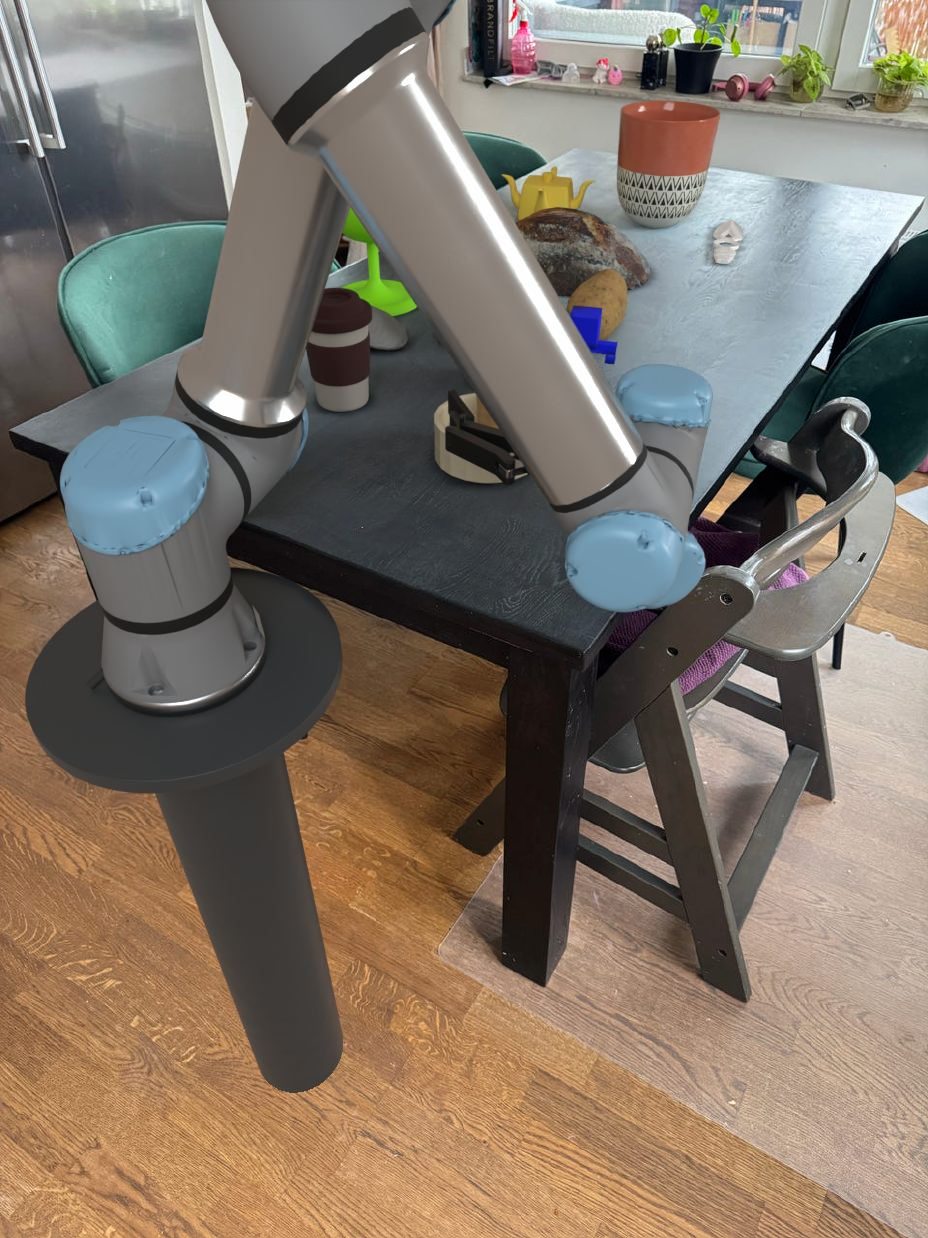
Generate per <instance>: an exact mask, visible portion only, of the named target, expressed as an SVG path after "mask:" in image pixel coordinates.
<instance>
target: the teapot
mask: <svg viewBox="0 0 928 1238" xmlns="http://www.w3.org/2000/svg"><path fill="white" fill-rule="evenodd" d="M541 174H542V175H541ZM541 174H530V175H528V176H527V177H526V178H525V180H524V182H523V183H522V187H521V192H519V190H518V188H517V183H516V180H515V179H514V177H513V176H512V175H509V174H504V173H503V174H501V176H502V177H503V178H504V179H505V180H506V181H507V183H508V185H509V191H510V197H511V201H512V203H513V205H514V207H515V208H517V209H518V213H517V218H518V220H517V221H519V220H522V219H524V218H525V217H528V216H530V215H531V214H533V213H535V212H538V211H540V210H542V209H548V208H554V207H564V208H572V209H579V210H580V207H581V206H582V204H583V201H584V198H585V195H586V191H587V189H588V187H589V186H590V185H592V184H594V183H595V182H596V180H594V179H592V180H591V179H590V180H585V181H583V182H582V183H581V185H580V187H579V189H578V193H577V194H576V196H575V197H574V183H573V178H572V177H568V176H560V175H559V176H558V167H557V166H552V167H551V170H550V171H543V172H542V173H541Z"/></svg>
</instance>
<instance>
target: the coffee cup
mask: <svg viewBox="0 0 928 1238" xmlns="http://www.w3.org/2000/svg"><path fill="white" fill-rule="evenodd" d="M371 321H372V307H371V305H370V303H369V302H367V301H366V300H364V299H361V298H360V297H359V295H358V293H356V292H355V291H353V290H350V289H346V288H341V287H325V290H324V293H323V296H322V299H321V302H320V305H319V309H318V312H317V315H316V318H315V321H314V324H313V328H312V331H311V334H310V337H309V340H308V344H307V347H306V350H305V353H306V357H307V361H308V367H309V372H310V376H311V379H312V380H313V384H314V389H315V395H316V400H317V403H318V405H319V406H320V407H321V408H322V409H324V410H327V411H330V412H334V413H335V412H336V413H347V412H352V411H356V410H358V409H360V408H362V407H364V406H365V405H366V404H367V403H368V401H369V397H370V393H369V392H370V391H369V389H370V387H369V385H370V381H369V380H370V379H369V378H370V377H369V376H370V374H371V347H370V332H369V330H368V324H369V323H370V322H371Z"/></svg>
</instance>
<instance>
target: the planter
mask: <svg viewBox="0 0 928 1238" xmlns="http://www.w3.org/2000/svg"><path fill="white" fill-rule="evenodd" d="M721 115H722V114H721V111H720V110H719V109H717V108H715V107H713V106H710V105H706V104H702V103H697V102H691V101H690V102H689V101H678V100H646V101H645V100H644V101H637V102H632V103H631V102H630V103H628V104H624V105H623V106H622V107H620V113H619V124H618V125H619V127H618V128H619V129H618V144H617V161H616V162H617V164H616V191H617V197H618V200H619V204H620V206H621V208H622V210H623V211H624V213H625V214H626V215H627V217H628V218H629V219H630V220H632V222H633V223H635V224H637V225H639V226H641V227H645V228H649V229H664V228H669V227H673V226H675V225H677V224H679V223H680V222H682V221H683V220H684V219H685V218H687V217H688V216H689V215H690V214H691V213H692V212H693V210H695V208H696V207H697V205H698V203H699V201H700V199H701V196H702V194H703V191H704V189H705V185H706V181H707V177H708V173H709V169H710V165H711V160H712V156H713V151H714V146H715V143H716V142H715V141H716V138H717V133H718V129H719V124H720V119H721Z"/></svg>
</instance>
